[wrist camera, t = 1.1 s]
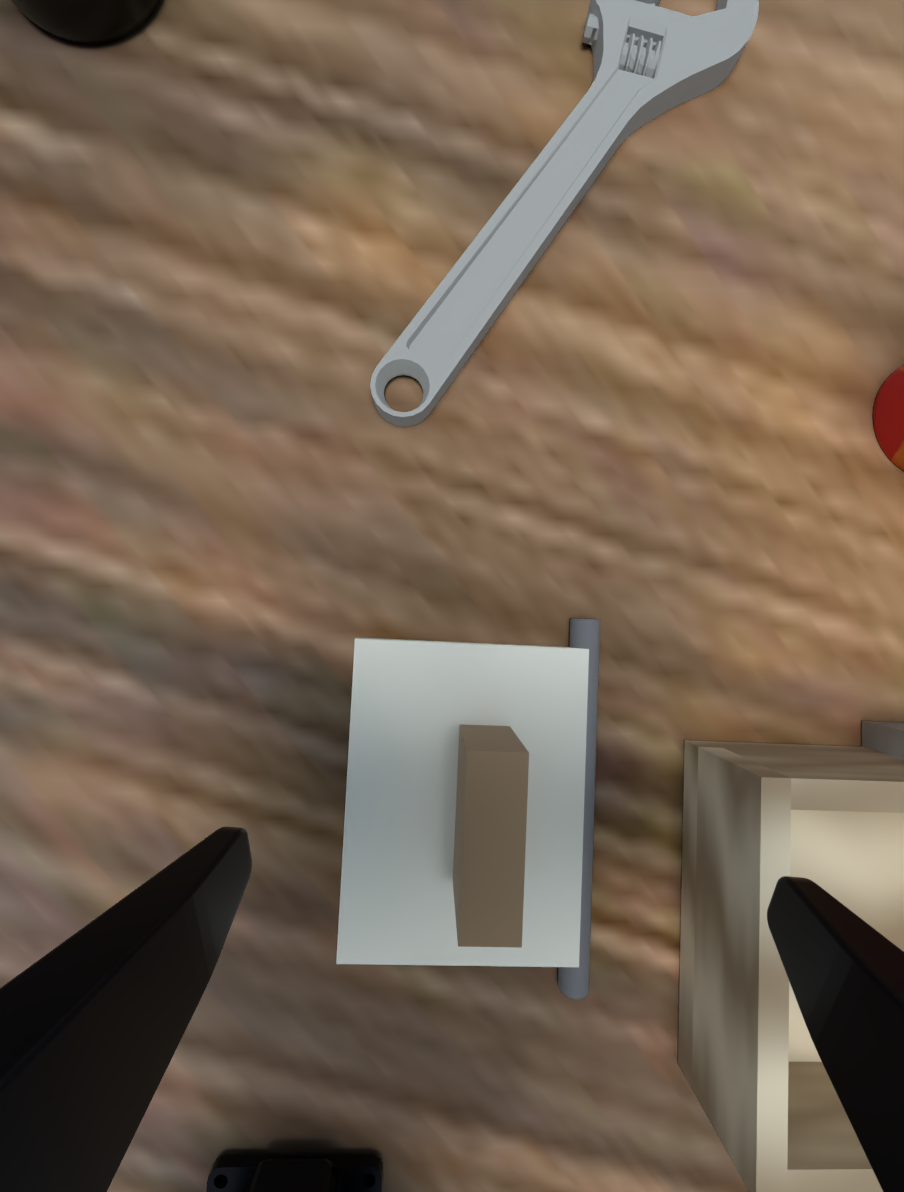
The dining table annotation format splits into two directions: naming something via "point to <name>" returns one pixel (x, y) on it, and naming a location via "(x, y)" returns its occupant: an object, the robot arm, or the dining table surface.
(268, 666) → the dining table surface
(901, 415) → the paper cup
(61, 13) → the supplement bottle
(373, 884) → the cabinet door
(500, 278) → the adjustable wrench
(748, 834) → the cabinet
